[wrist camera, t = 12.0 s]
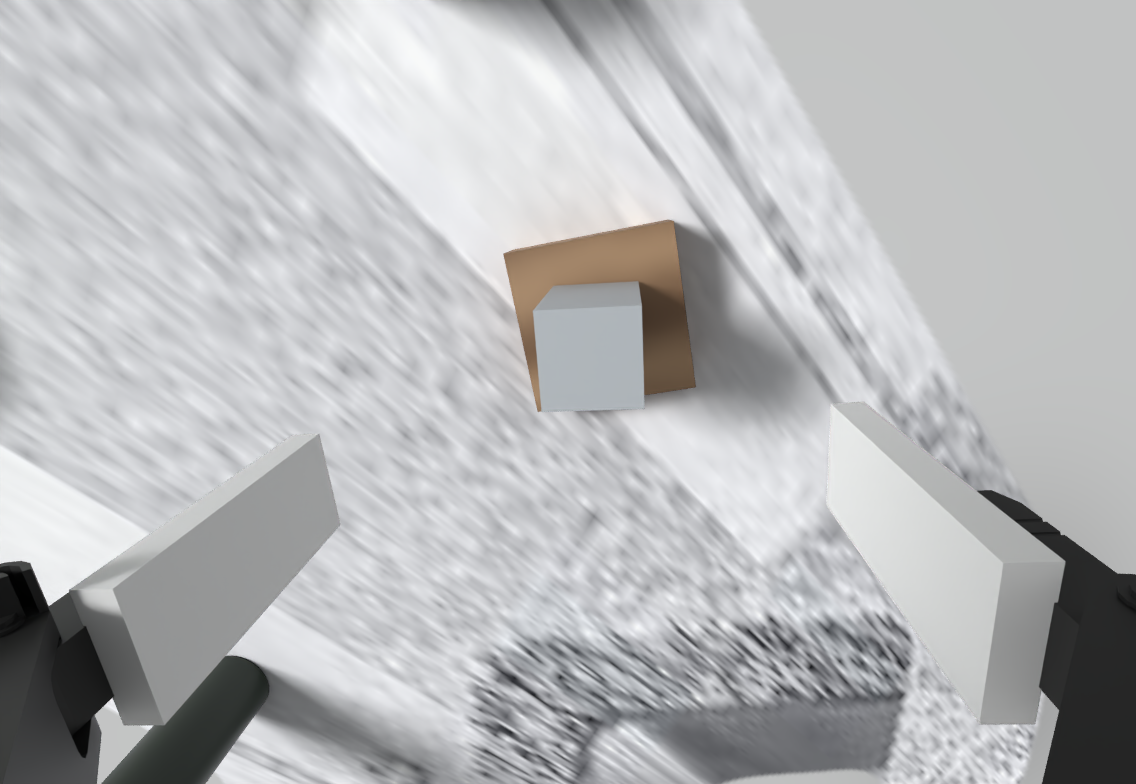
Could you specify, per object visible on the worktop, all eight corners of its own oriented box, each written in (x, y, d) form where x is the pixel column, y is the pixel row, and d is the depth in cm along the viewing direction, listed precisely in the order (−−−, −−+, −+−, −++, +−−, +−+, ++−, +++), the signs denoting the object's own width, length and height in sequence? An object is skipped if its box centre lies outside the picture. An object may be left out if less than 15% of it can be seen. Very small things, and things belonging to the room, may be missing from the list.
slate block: (553, 285, 34) (532, 310, 27) (638, 281, 34) (641, 305, 26) (559, 366, 36) (541, 412, 28) (640, 363, 35) (644, 409, 28)
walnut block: (514, 249, 38) (503, 253, 34) (667, 219, 37) (673, 220, 33) (545, 392, 41) (537, 411, 37) (688, 370, 39) (695, 387, 36)
